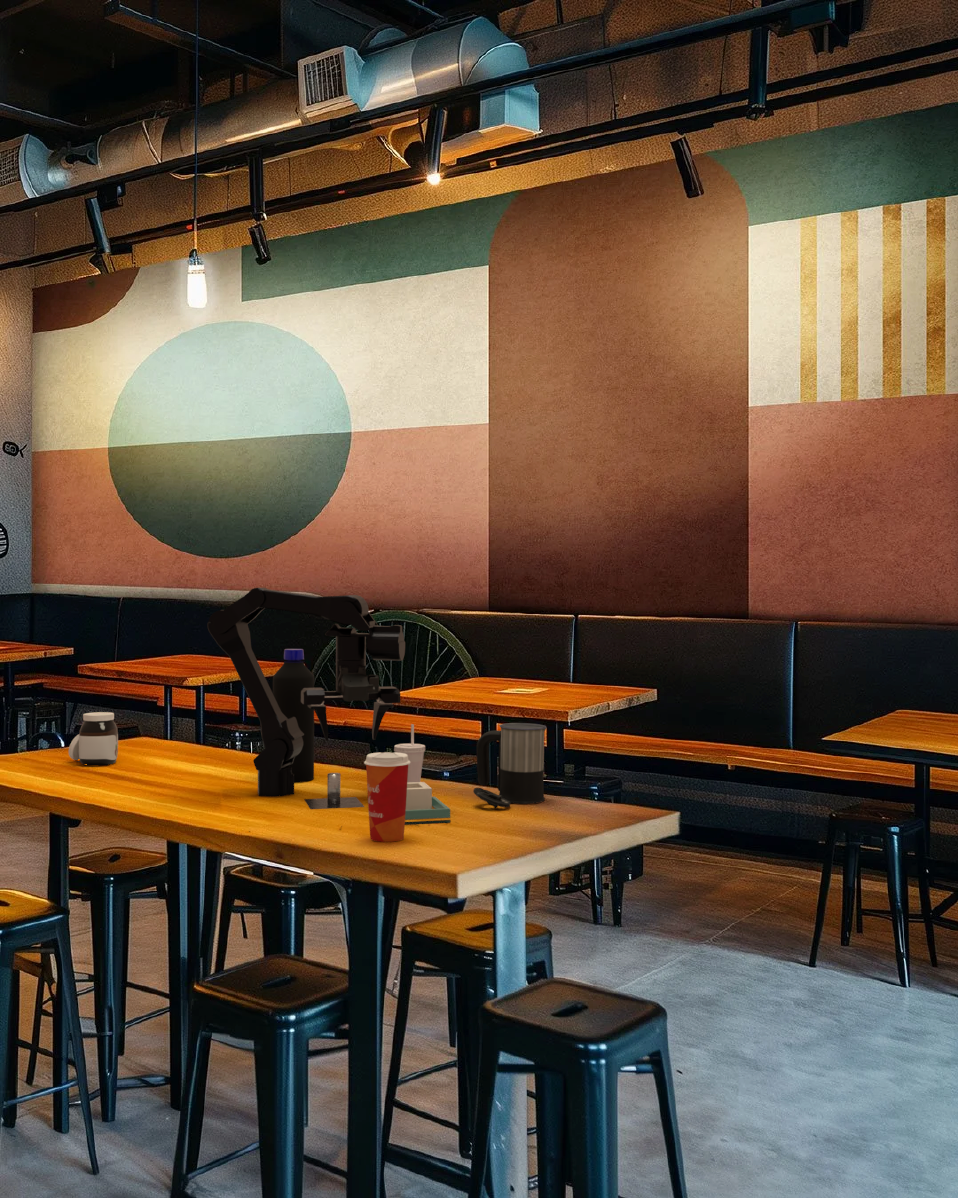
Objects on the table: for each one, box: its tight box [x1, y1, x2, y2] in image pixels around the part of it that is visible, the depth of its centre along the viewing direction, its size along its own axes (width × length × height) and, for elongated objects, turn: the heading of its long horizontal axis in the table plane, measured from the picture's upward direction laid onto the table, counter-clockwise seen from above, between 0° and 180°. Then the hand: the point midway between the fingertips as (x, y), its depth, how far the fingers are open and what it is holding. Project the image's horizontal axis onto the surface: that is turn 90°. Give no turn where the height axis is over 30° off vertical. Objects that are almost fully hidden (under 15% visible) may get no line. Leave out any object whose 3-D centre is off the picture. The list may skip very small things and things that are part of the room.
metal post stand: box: [304, 772, 365, 810], centre depth 225 cm, size 10×10×6 cm
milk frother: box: [473, 722, 547, 810], centre depth 231 cm, size 14×16×15 cm
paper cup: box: [363, 751, 410, 843], centre depth 199 cm, size 8×8×14 cm
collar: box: [406, 781, 433, 810], centre depth 217 cm, size 7×7×5 cm
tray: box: [405, 796, 451, 826], centre depth 217 cm, size 12×12×2 cm
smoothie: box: [393, 723, 426, 783], centre depth 241 cm, size 6×6×14 cm
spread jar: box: [68, 711, 119, 766], centre depth 278 cm, size 12×11×12 cm
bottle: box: [272, 648, 315, 784], centre depth 257 cm, size 9×9×28 cm
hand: (350, 740), depth 232 cm, fingers open, 9 cm apart
